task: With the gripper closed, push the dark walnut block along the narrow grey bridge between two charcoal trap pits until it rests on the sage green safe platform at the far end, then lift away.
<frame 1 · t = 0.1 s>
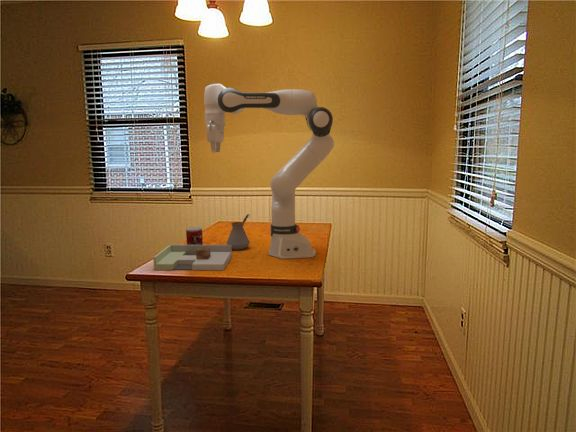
hand: (215, 152, 183), 48 cm above the table, tool pointing down, fingers open, 8 cm apart
walnut block: (203, 257, 175), point 2 cm above the table, touching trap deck
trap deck: (194, 263, 175), on the table
canned food: (195, 250, 197), on the table
coffee pot: (241, 246, 206), on the table
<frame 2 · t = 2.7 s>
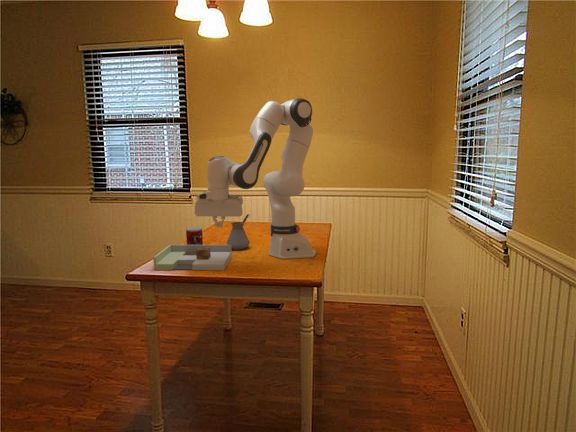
hand: (219, 226, 172), 16 cm above the table, tool pointing down, fingers closed
nothing on the table moved.
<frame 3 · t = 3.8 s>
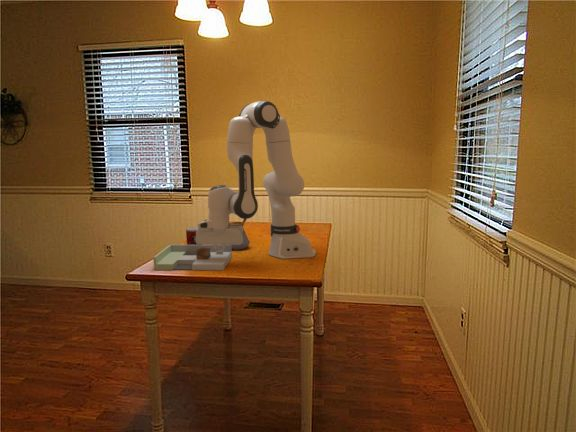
hand: (219, 254, 174), 4 cm above the table, tool pointing down, fingers closed
nothing on the table moved.
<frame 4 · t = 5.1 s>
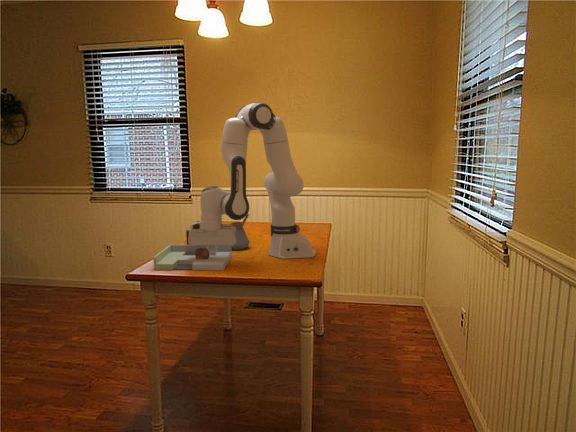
hand: (212, 255, 174), 4 cm above the table, tool pointing down, fingers closed
walnut block: (202, 257, 175), point 2 cm above the table, touching gripper, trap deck
everything else where it was.
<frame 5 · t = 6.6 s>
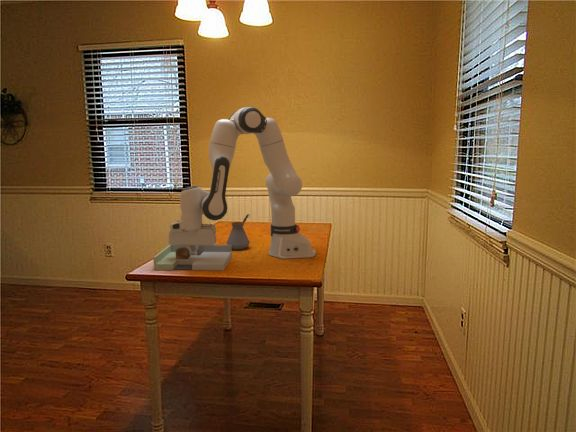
hand: (193, 254, 175), 4 cm above the table, tool pointing down, fingers closed
walnut block: (183, 257, 175), point 3 cm above the table, touching gripper
everything else where it was.
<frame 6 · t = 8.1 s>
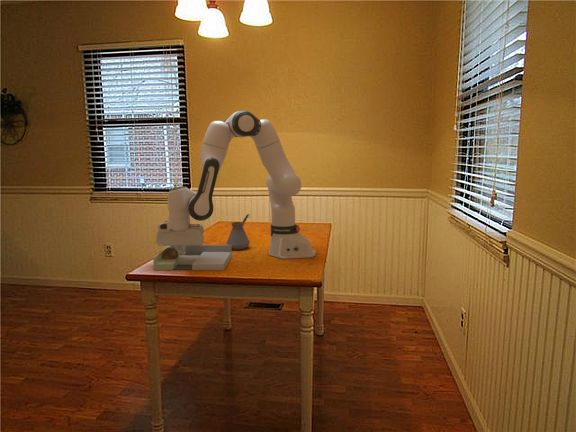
hand: (181, 255, 175), 4 cm above the table, tool pointing down, fingers closed
walnut block: (171, 257, 175), point 2 cm above the table, touching gripper, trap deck
everything else where it was.
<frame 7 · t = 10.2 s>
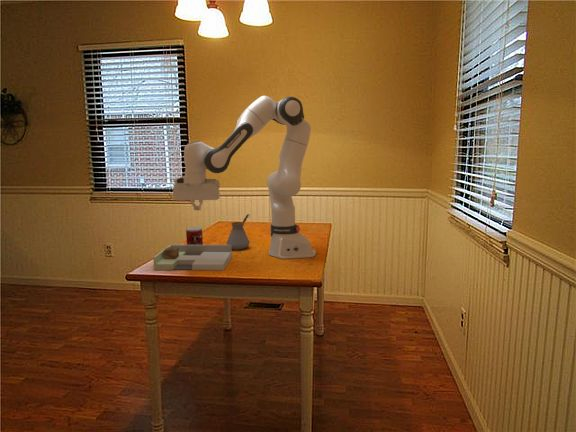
hand: (197, 210, 177), 23 cm above the table, tool pointing down, fingers closed
walnut block: (171, 257, 175), point 2 cm above the table, touching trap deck
everything else where it was.
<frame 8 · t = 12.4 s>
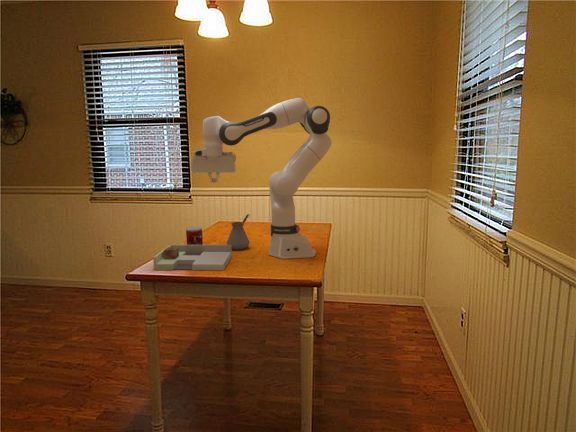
hand: (214, 182, 185), 34 cm above the table, tool pointing down, fingers closed
nothing on the table moved.
at the end: walnut block inside the target area (0.6 cm from its centre), point 2.5 cm above the table; walnut block tilted 0° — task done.
